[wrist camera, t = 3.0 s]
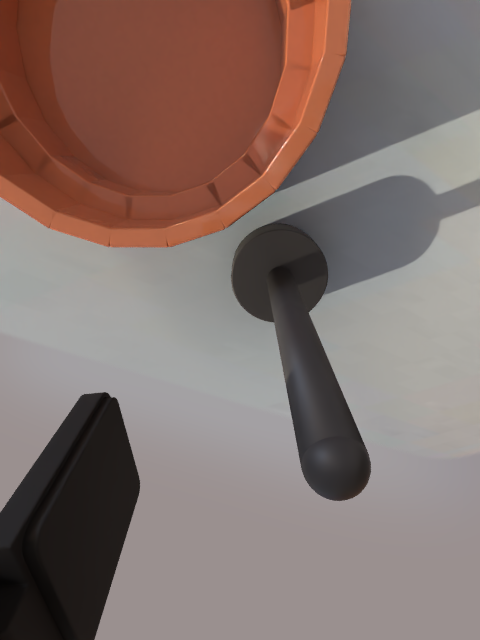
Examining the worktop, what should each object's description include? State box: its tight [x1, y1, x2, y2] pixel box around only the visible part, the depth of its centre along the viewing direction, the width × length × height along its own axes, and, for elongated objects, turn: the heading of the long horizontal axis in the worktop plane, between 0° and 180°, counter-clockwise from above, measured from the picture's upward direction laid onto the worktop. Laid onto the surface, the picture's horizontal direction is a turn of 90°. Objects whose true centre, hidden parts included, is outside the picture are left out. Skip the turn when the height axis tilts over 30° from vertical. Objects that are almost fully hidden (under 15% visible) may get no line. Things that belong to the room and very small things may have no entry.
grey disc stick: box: [231, 224, 371, 501], centre depth 14 cm, size 5×5×16 cm
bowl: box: [0, 0, 352, 247], centre depth 15 cm, size 16×16×6 cm
